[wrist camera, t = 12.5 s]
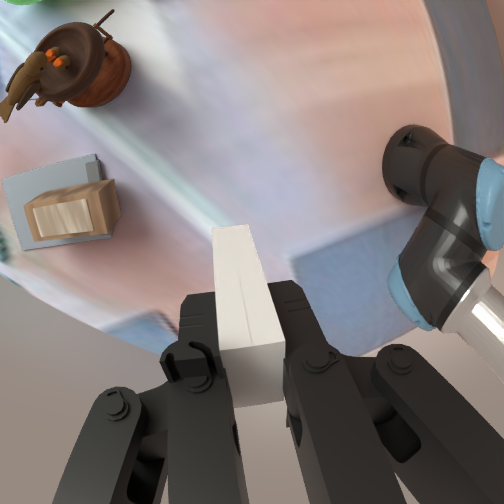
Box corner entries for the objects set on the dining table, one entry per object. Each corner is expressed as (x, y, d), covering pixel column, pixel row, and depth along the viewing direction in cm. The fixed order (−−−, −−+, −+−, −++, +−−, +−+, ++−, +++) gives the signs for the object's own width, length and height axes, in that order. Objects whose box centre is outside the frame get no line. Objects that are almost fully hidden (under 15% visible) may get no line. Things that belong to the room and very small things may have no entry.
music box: (99, 130, 35) (17, 149, 17) (53, 97, 31) (-36, 102, 13) (163, 45, 30) (116, -7, 12) (111, 15, 26) (45, -34, 8)
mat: (98, 153, 36) (95, 154, 35) (114, 236, 43) (112, 239, 42) (3, 179, 33) (-1, 181, 32) (23, 249, 40) (20, 252, 39)
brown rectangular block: (97, 191, 32) (22, 206, 31) (107, 234, 35) (33, 242, 34) (113, 178, 37) (42, 192, 36) (121, 216, 40) (51, 225, 39)
